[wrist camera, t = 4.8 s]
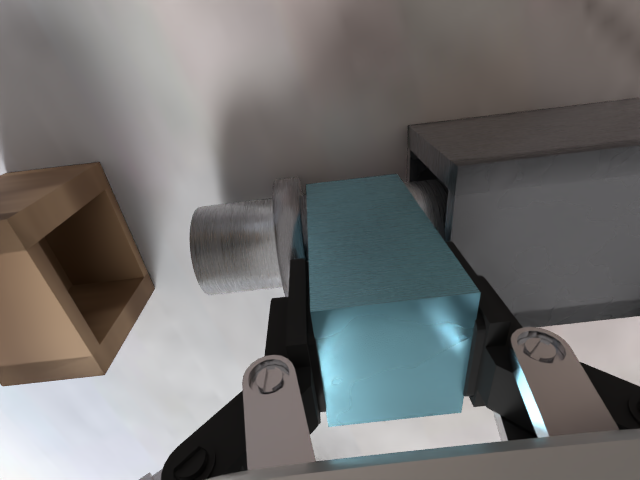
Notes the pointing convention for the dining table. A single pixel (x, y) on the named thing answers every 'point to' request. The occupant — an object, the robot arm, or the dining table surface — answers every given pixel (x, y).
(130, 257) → the cardboard box
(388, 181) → the plug
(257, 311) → the dining table surface
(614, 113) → the sleeve
